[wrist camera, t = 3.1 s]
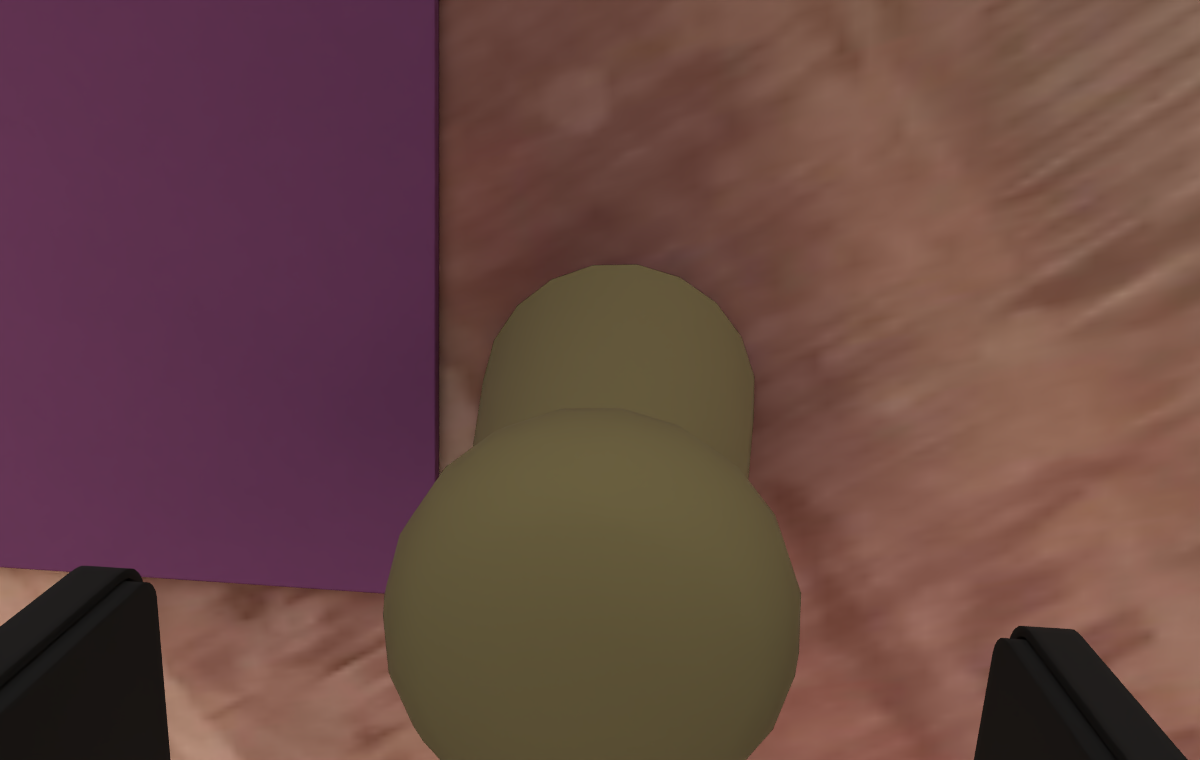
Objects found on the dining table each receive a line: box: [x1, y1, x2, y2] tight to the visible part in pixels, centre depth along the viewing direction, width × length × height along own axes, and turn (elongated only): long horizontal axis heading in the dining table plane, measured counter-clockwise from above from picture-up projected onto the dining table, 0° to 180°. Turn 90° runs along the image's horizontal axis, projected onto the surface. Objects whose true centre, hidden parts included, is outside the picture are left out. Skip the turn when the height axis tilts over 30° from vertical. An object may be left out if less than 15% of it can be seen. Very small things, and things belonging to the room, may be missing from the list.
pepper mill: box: [383, 265, 801, 760], centre depth 16 cm, size 6×6×11 cm
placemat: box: [0, 0, 439, 594], centre depth 20 cm, size 20×16×1 cm
